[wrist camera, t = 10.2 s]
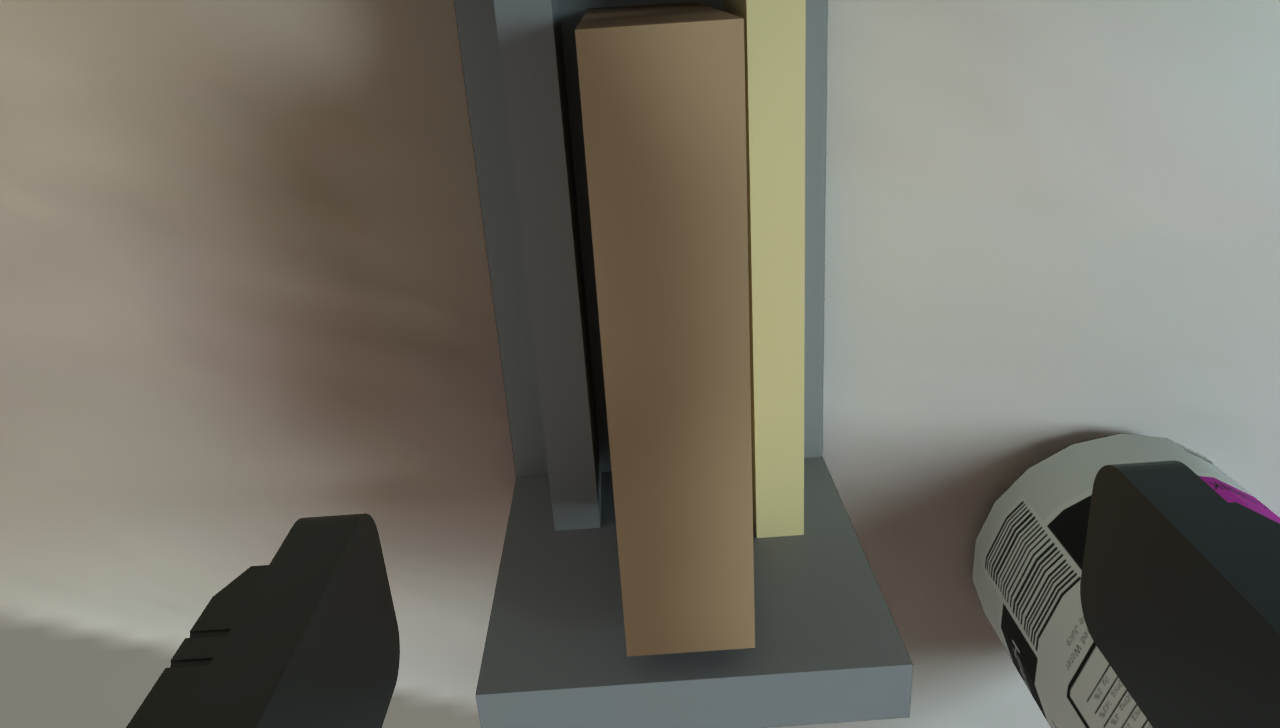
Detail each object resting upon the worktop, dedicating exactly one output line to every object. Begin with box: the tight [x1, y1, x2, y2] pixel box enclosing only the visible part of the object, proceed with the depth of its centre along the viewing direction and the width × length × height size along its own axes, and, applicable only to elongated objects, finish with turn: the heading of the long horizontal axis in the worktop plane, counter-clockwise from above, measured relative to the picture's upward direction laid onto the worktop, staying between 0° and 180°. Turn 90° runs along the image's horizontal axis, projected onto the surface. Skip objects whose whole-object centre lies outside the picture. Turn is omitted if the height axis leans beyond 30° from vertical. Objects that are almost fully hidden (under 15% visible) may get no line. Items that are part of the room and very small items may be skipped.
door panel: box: [575, 1, 755, 657], centre depth 21 cm, size 3×12×9 cm, turn 4°
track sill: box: [454, 0, 913, 728], centre depth 21 cm, size 9×18×10 cm, turn 4°
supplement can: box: [972, 434, 1280, 728], centre depth 23 cm, size 8×8×15 cm
